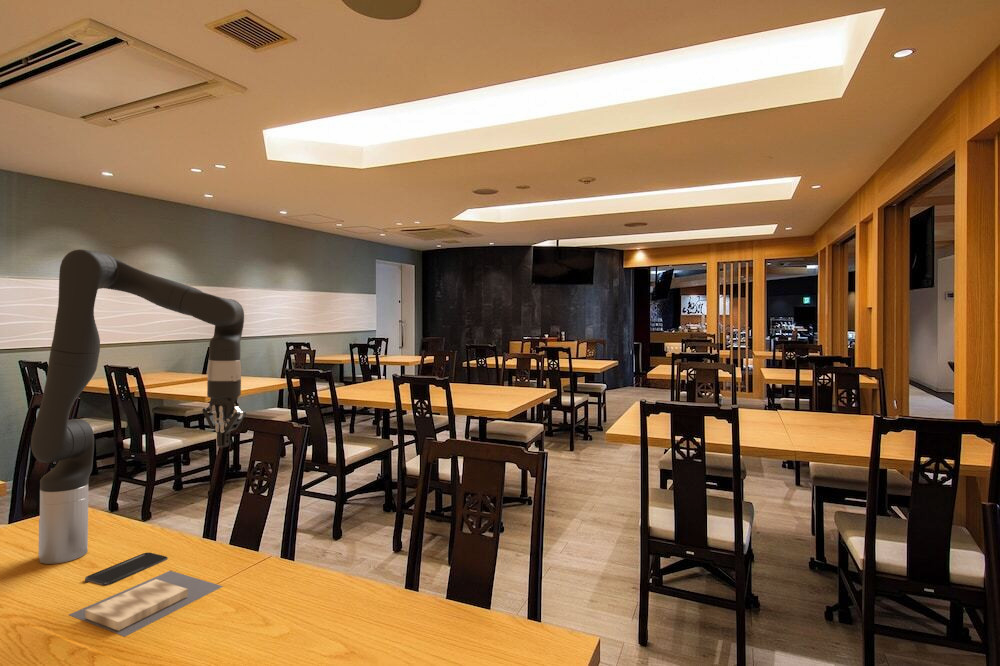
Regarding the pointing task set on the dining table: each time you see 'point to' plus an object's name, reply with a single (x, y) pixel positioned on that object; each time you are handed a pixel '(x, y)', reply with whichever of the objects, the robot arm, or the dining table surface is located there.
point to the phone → (125, 569)
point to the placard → (136, 604)
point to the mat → (195, 592)
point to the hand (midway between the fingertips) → (223, 446)
